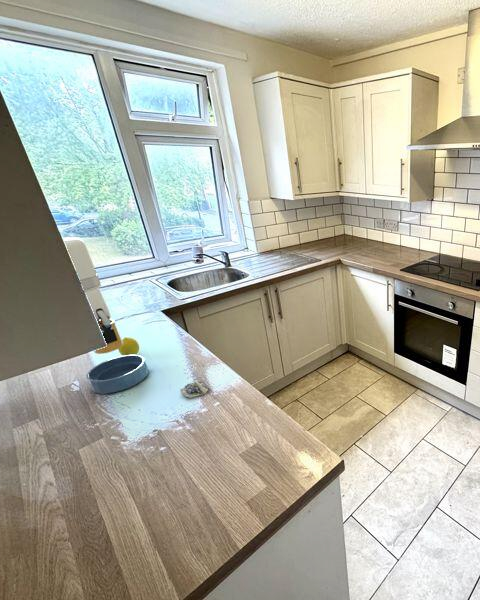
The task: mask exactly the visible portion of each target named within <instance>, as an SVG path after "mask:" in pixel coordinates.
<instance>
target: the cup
mask: <svg viewBox="0 0 480 600" xmlns="http://www.w3.org/2000/svg"><path fill="white" fill-rule="evenodd" d="M100 321H102V320H101V319H100V320H98V322H100ZM110 322H111V325H112V327H113V329H114V332H115V334H116V337H117V341H115V342H112V343H109V344H107V347H105V348H102V349H99V350H96V351H93V353H95V354H96V355H98V354H99V355H101V354H108V353H111V352H114V351H116V350H118V349H119V348H120V347H121V346H122V345H123V342H122V339H123V338H122V336H121V334H120V331H119V329H118V327H117V324H116V321H115V320H114V319H112V318H111V319H110ZM102 325H104V324H103V323H102V324H100V326H101V327H102Z"/></svg>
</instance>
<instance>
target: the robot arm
mask: <svg viewBox="0 0 480 600" xmlns="http://www.w3.org/2000/svg"><path fill="white" fill-rule="evenodd" d="M62 238H63V239H64V242H65V244H66V246H67V249H68V252H69V254H70V256H71V259H72V261H73V263H74V266H75V268H76V271H77V273H78V276H79V278H80V281H81V284H82V286H83V289H84V291H85V293H86V295H87V297H88V300H89V302H90V304H91V307H92V309H93V312H94V315H95V317H96V319H97V321H98V320H102V321H100V322H98V324H99V326H100V324H102V323H103V324H104V325H102V327H101V326H100V329H101V331H102V333H103V336H104V338H105V341H106V343H107V344H109V343H112V342H115V341H117V337H116V334H115V332H114V329H113V327H112V325H111V322H110V319H112V316H111V313H110V310H109V308H108V306H107V303H106V301H105V299H104V297H103V294H102V293H101V290H100V287H101V286H102V282H101V280H100V278H99V276H98V273H97V270H96V268H95V266H94V263H93V260H92V258H91V255H90V253H89V250H88V247H87V244H86V242H84V240H83V239H82V238H80V237H72V236H71V237H62Z"/></svg>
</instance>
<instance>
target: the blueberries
mask: <svg viewBox="0 0 480 600" xmlns="http://www.w3.org/2000/svg"><path fill="white" fill-rule="evenodd" d="M204 386H205V385H204V382H203V383H202V382H201V381H195V382H191V383H187V384H186V385H184V387H183V388H181V389H180V390H179V391H180V393H181V394H183V396H185V397H187V398H189V399H191V398H195V397H200V396H203V395H205V394H207V393H208V391H209V389H208V388H207V387H206V386H205V387H204Z"/></svg>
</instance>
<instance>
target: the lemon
mask: <svg viewBox="0 0 480 600" xmlns="http://www.w3.org/2000/svg"><path fill="white" fill-rule="evenodd" d="M121 339H122V342H123V345H122V346H121V347H120V348H119V349H117V350H118V352H119V354H120V356H125V355H138V354H139V352H140V345H139V343H138V341H137V340H136V339H134V338H133V337H127V336H126V337H123V338H121Z"/></svg>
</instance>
